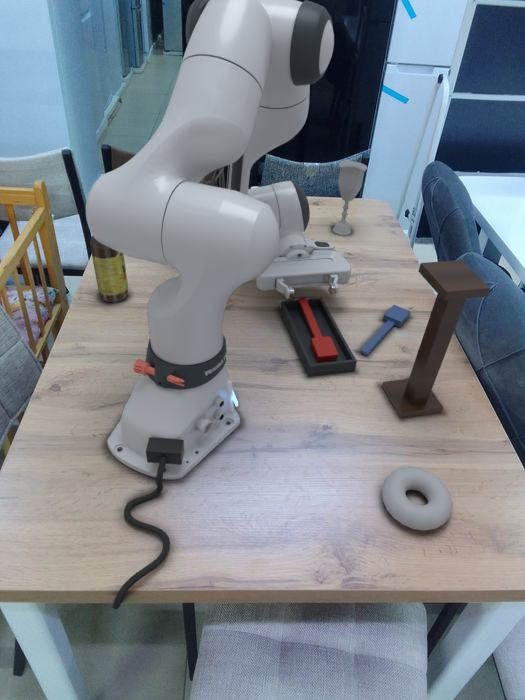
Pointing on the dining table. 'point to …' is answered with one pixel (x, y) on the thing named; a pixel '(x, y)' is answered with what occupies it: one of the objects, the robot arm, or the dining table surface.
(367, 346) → the blue spoon
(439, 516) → the donut
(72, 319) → the dining table surface
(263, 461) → the dining table surface
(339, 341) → the tray
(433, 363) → the brown stand
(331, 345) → the red spoon
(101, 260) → the sauce bottle
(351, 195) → the chalice
